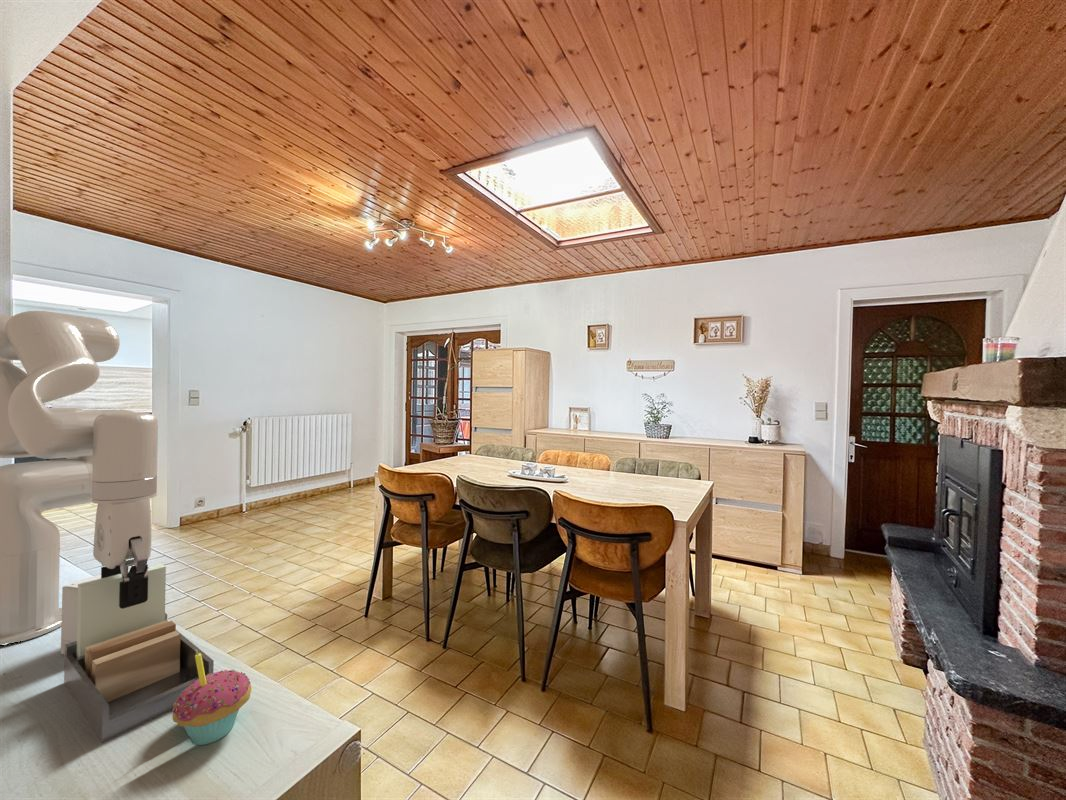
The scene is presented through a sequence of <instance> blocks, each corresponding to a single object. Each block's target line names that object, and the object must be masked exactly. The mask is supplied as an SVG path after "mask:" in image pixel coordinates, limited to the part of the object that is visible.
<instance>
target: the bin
mask: <svg viewBox="0 0 1066 800" xmlns="http://www.w3.org/2000/svg"><path fill="white" fill-rule="evenodd" d="M166 620H168V614H167V612H165V621H166ZM176 631H177V632H178V633H180V632H179V631H178V630H177V629H176ZM195 650H197V651H198V654H199V653H201V656H202V661H203V667H204V672H205V676H206V675H207V674H211V673H214V666H215V665H214V661H215V660H214V659H212V658H211V657H210V656H208V655H207V654H206V653H205V652H204V651H203V650H201V649H200V648H199V647H198V646H197V645H195V644H194V643H193V642H192V641H191V640H189V638H187V637H186V636H185V635H183V634H182V633H180V672H178V673H176V674H173V675H171V676H169V677H166V678H164V679H161V680H159V681H157V682H154V683H152V684H150V685H147V686H145V687H143V688H140V689H138V690H135V691H133V692H131V693H128V694H126V695H124V696H121V697H119V698H116V699H114V700H112V701H109V702H106V700H105V699H104V698H103V696H102V695H101V693H100V692H99V691H98V689H97V688H96V687H95V685H94V684H93V682H92V681H91V680H90V678H89V677H88V676H87V674H86V673H85V655H84V656H81V657H78V658H77V641H74V642H71V643H68V644H65V654H64V661H63V662H64V667H63V670H64V671H63V679H64V680H63V683H64V685H65V687H66V688H67V690H68V691H69V693H70V696H72V699H73V700H74V701H75V703H76V704H77V706H78V708H79V709H80V711H81V712H82V714H83V715H84V717H85V719H86V720H87V721H88V723H89V725H90V726H91V728H92V729H93V731H94V733H95V734H96V736H97V738H98V739H99V741H100V743H102V744H103V743H105V742H108V741H109V740H111V739H113V738H115V737H118V736H120V735H122V734H124V733H126V732H128V731H130V730H133V729H134V728H137V727H138V726H139V727H140V726H141V725H143V724H145V723H147V722H150V721H151V720H154V719H155V718H158V717H160V716H162V715H164V714H166V713H168V712H170V711H173V707H174V706H173V705H174V703H175V701H176V700H177V698H178V697H179V696H180V694H181V692H182V691H184V690H185V689H186V688H187V687H189V686H188V685H190V684H191V683H193V682H194V681H196V680H198V679H199V675H198V670H197V665H196V659H195V655H196V651H195Z"/></svg>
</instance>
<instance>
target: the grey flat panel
mask: <svg viewBox="0 0 1066 800" xmlns="http://www.w3.org/2000/svg"><path fill="white" fill-rule="evenodd" d="M147 567H148V600H147V601H146V602H144V603H141V604H137V605H134V606H130V607H127V608H124V609H121V608H120V607H119V587H120V582H122V581H123V580H122V575H121V574H118V575H114V576H110V577H106V578H102V579H97V580H93V581H89V582H85V583H81V584H78V602H77V658H78V657H81V656H84V655H85V647H88V646H91V645H94V644H97V643H100V642H103V641H106V640H109V639H112V638H115V637H118V636H121V635H124V634H127V633H130V632H133V631H136V630H139V629H142V628H145V627H148V626H151V625H154V624H157V623H160V622H163V621H165V613H166V587H167V585H166V580H167V578H166V574H167V565H164V564H162V563H159V564H155V565H152V566H147ZM128 573H129V571H128Z"/></svg>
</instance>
